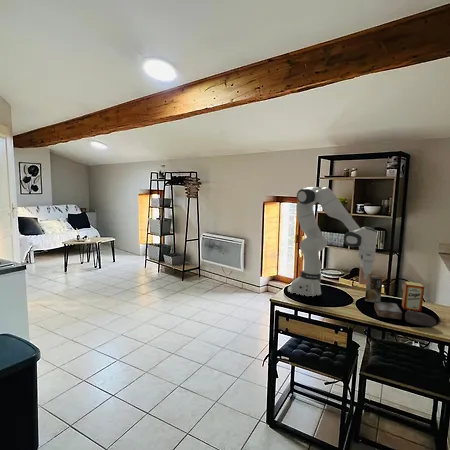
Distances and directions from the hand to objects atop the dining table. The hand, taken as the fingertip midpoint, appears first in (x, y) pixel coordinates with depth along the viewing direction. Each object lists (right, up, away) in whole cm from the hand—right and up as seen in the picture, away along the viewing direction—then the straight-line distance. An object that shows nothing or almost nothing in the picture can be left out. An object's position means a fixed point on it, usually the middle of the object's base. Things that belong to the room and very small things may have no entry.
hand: (364, 277), depth 193 cm
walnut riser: (+13, -21, -2) cm, 24 cm away
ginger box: (+32, -20, +6) cm, 38 cm away
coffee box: (+13, -18, +17) cm, 28 cm away
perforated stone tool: (+23, -23, -16) cm, 37 cm away
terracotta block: (0, -4, +1) cm, 4 cm away
